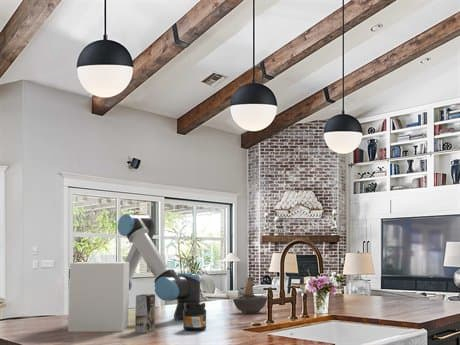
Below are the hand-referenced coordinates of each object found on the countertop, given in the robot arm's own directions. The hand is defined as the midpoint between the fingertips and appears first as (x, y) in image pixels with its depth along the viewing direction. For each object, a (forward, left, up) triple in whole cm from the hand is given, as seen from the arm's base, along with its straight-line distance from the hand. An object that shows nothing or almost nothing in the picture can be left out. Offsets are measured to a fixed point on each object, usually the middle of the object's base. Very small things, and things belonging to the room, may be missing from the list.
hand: (105, 271), depth 308 cm
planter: (-75, -43, -25) cm, 90 cm away
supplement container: (-45, +25, -25) cm, 57 cm away
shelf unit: (-1, +19, -25) cm, 31 cm away
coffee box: (-23, +29, -25) cm, 45 cm away
